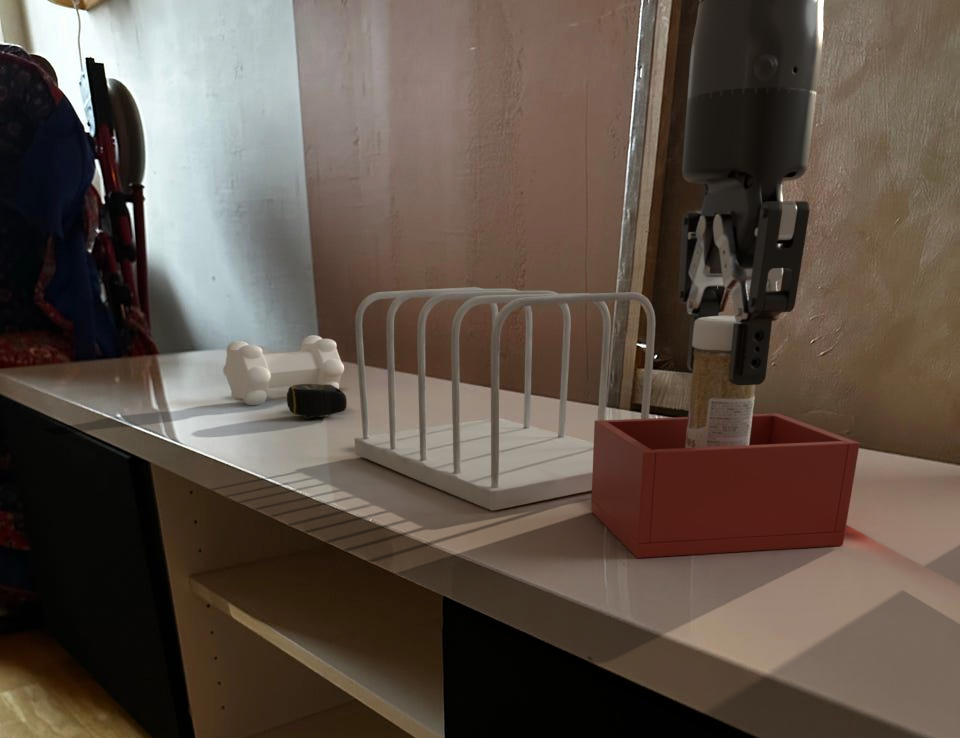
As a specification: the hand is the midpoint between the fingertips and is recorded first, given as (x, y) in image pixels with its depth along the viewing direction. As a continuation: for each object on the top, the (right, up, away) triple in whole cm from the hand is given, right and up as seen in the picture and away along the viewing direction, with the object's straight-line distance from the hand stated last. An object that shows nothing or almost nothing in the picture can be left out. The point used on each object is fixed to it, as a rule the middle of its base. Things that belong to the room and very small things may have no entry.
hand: (723, 376), depth 59 cm
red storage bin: (0, -10, +4) cm, 11 cm away
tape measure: (-37, +10, +50) cm, 63 cm away
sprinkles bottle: (0, -9, +4) cm, 10 cm away
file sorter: (-15, -2, +23) cm, 27 cm away
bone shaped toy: (-44, +16, +63) cm, 79 cm away
